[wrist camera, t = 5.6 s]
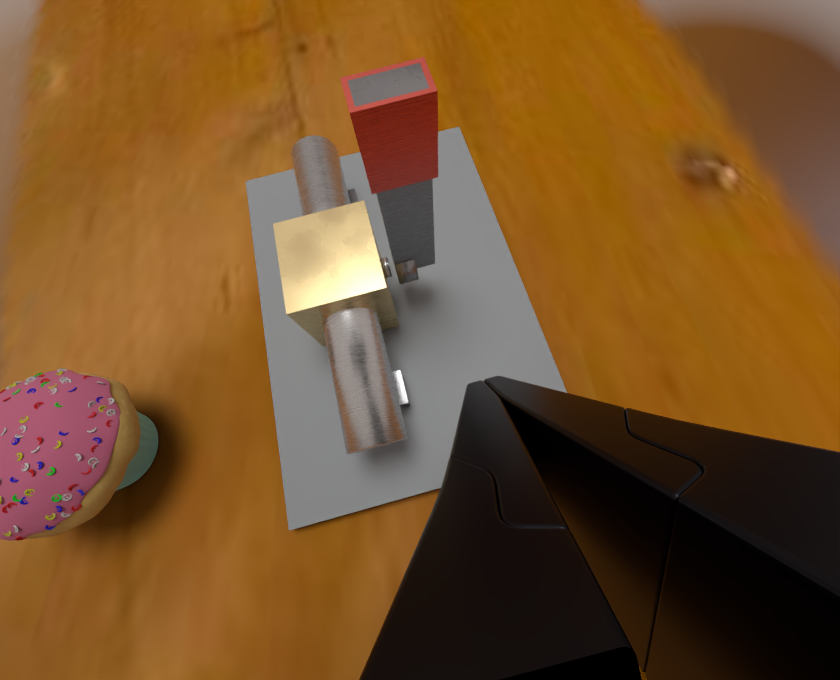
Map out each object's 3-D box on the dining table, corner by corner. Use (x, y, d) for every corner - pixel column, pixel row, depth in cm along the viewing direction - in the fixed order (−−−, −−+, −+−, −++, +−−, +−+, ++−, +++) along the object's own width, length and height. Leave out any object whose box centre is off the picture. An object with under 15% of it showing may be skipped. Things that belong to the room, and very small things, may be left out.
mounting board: (583, 446, 21) (588, 445, 20) (294, 527, 20) (289, 530, 19) (458, 135, 29) (459, 126, 28) (250, 188, 28) (245, 181, 28)
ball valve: (435, 433, 21) (432, 427, 15) (345, 458, 20) (308, 461, 15) (366, 180, 27) (346, 107, 21) (297, 198, 27) (258, 129, 21)
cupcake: (36, 465, 22) (-390, 482, 11) (133, 360, 24) (-143, 281, 13) (117, 552, 20) (-293, 682, 9) (216, 431, 22) (-20, 412, 11)
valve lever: (441, 280, 22) (441, 100, 10) (398, 292, 21) (352, 122, 10) (430, 249, 22) (420, 49, 11) (389, 260, 22) (338, 70, 11)
